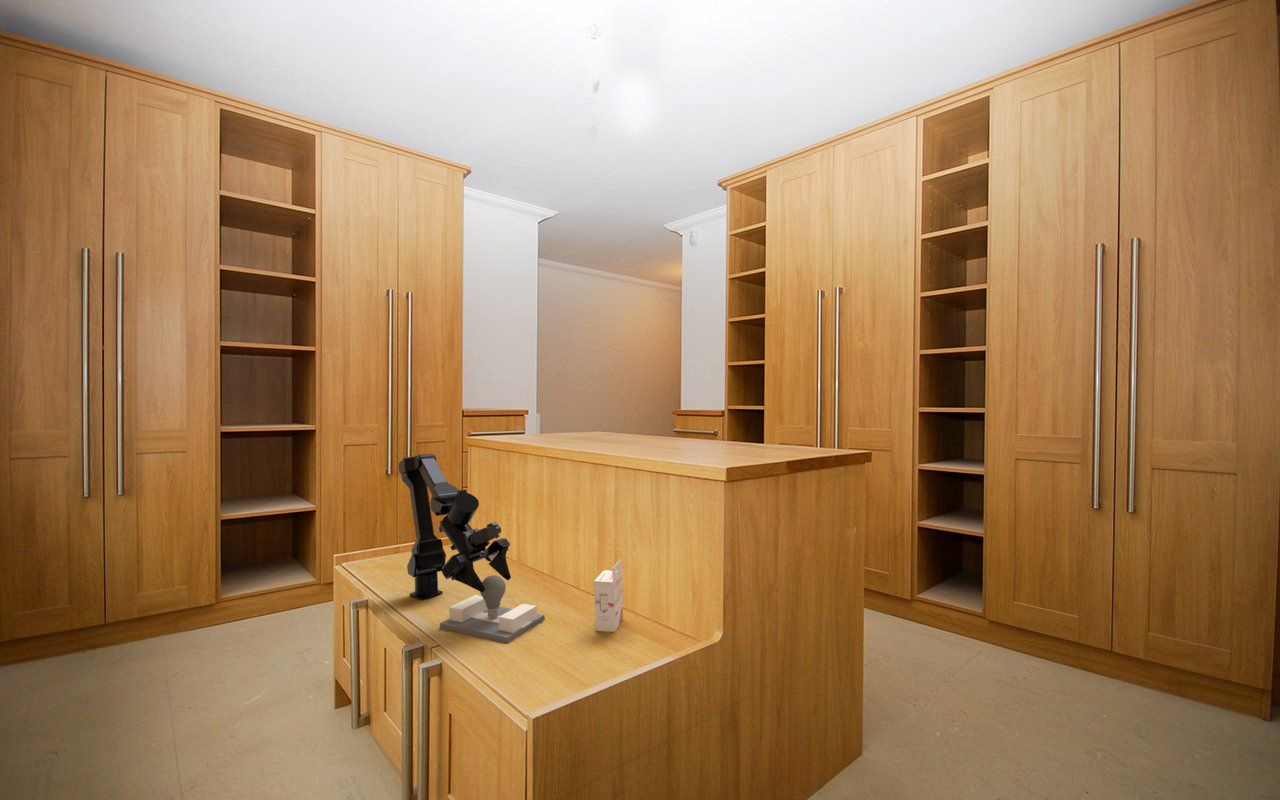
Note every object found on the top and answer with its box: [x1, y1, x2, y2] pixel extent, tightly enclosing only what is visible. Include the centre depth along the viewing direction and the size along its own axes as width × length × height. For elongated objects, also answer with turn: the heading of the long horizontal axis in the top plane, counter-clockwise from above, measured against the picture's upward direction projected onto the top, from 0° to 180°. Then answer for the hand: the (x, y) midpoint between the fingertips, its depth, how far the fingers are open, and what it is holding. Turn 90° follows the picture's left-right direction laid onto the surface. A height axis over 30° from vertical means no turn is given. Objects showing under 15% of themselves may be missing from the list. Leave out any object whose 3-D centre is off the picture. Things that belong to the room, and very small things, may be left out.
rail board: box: [439, 594, 546, 644], centre depth 133 cm, size 20×14×4 cm
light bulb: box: [479, 574, 507, 618], centre depth 133 cm, size 6×6×10 cm
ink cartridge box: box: [593, 558, 624, 633], centre depth 131 cm, size 9×5×15 cm, turn 168°
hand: (497, 585), depth 132 cm, fingers open, 9 cm apart
